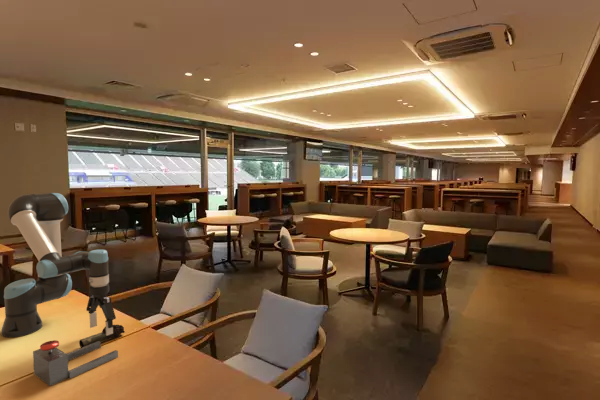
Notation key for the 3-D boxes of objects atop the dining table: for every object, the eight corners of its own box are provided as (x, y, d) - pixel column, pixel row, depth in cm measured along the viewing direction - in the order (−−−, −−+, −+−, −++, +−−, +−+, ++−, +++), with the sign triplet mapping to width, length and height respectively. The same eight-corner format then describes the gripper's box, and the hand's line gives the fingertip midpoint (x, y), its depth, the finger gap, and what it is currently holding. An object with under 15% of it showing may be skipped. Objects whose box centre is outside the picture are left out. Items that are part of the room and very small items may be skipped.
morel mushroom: (84, 351, 145) (83, 339, 145) (77, 346, 149) (76, 334, 149) (126, 335, 159) (125, 324, 159) (119, 331, 163) (118, 320, 163)
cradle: (33, 373, 129) (31, 341, 128) (98, 346, 149) (97, 318, 148) (51, 387, 121) (49, 353, 120) (118, 356, 141) (117, 327, 140)
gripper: (76, 281, 157) (78, 326, 158) (105, 292, 143) (107, 341, 145) (93, 277, 163) (95, 320, 165) (123, 287, 150) (125, 334, 151)
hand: (101, 330), depth 155 cm, fingers open, 13 cm apart
